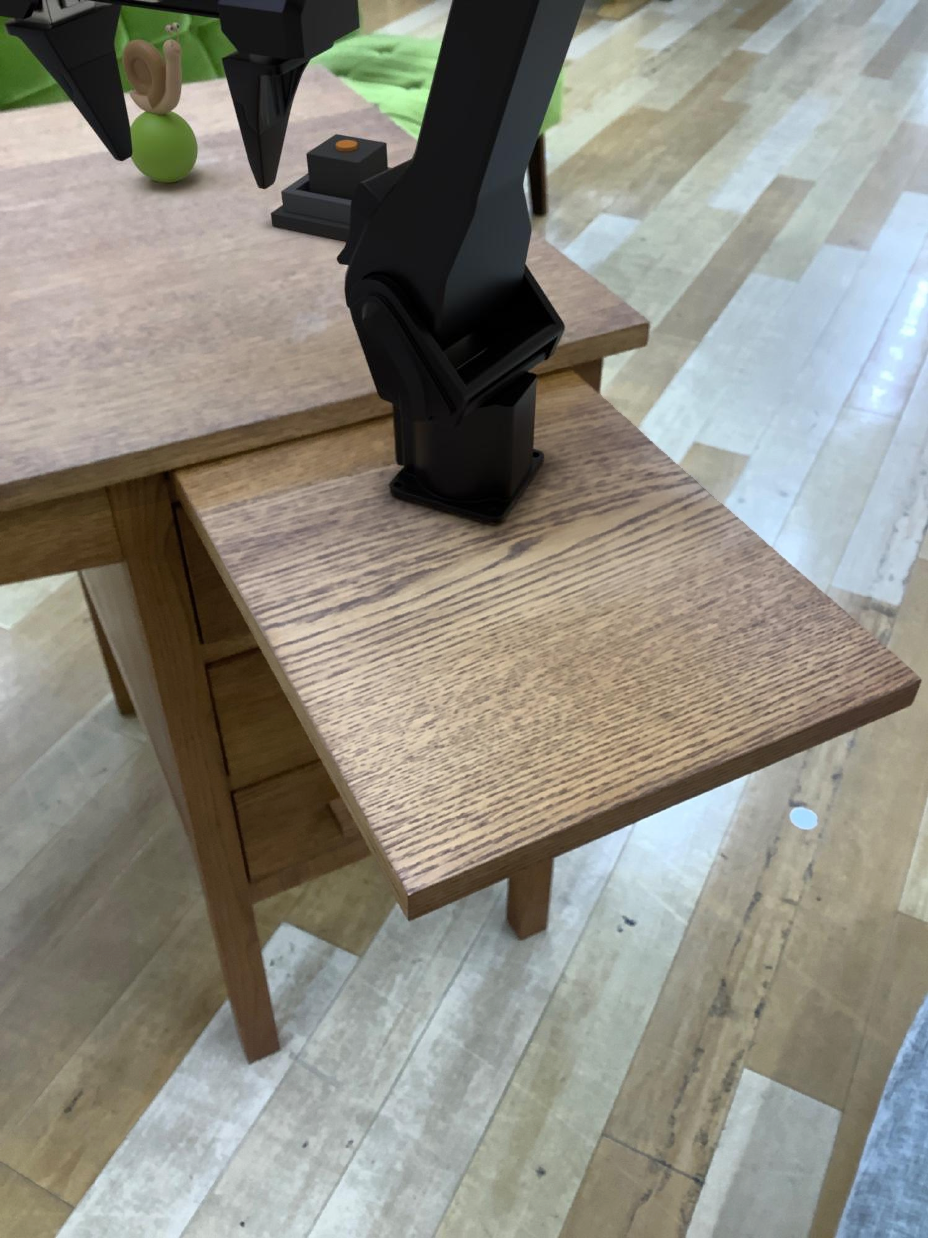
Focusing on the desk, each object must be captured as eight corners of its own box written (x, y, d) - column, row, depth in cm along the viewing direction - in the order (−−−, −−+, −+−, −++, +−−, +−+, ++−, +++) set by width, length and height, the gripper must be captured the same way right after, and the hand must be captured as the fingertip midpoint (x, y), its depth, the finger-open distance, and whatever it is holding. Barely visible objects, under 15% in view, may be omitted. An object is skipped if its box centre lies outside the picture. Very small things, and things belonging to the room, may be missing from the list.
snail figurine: (180, 200, 82) (148, 33, 74) (121, 184, 85) (84, 20, 76) (225, 178, 86) (199, 14, 77) (168, 162, 88) (136, 3, 80)
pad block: (389, 195, 81) (386, 138, 78) (362, 217, 78) (357, 158, 75) (340, 186, 82) (335, 129, 79) (311, 206, 79) (305, 148, 76)
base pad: (430, 202, 82) (429, 169, 80) (376, 247, 76) (373, 213, 75) (331, 183, 85) (328, 151, 83) (272, 225, 79) (267, 192, 77)
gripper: (405, -207, 47) (416, 148, 58) (79, -226, 53) (145, 101, 64) (273, -174, 40) (314, 224, 51) (-89, -200, 46) (18, 164, 56)
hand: (194, 171), depth 56 cm, fingers open, 9 cm apart
